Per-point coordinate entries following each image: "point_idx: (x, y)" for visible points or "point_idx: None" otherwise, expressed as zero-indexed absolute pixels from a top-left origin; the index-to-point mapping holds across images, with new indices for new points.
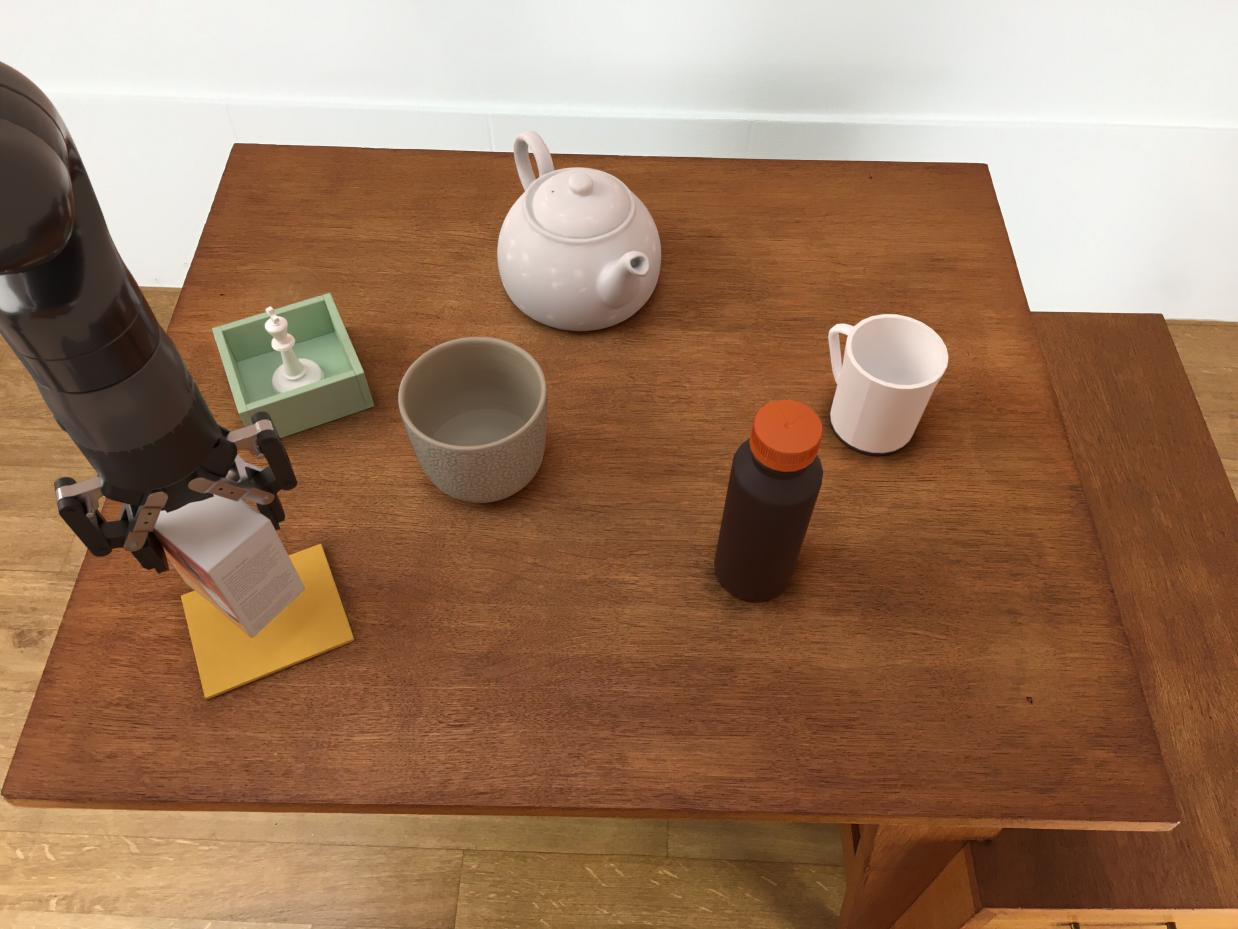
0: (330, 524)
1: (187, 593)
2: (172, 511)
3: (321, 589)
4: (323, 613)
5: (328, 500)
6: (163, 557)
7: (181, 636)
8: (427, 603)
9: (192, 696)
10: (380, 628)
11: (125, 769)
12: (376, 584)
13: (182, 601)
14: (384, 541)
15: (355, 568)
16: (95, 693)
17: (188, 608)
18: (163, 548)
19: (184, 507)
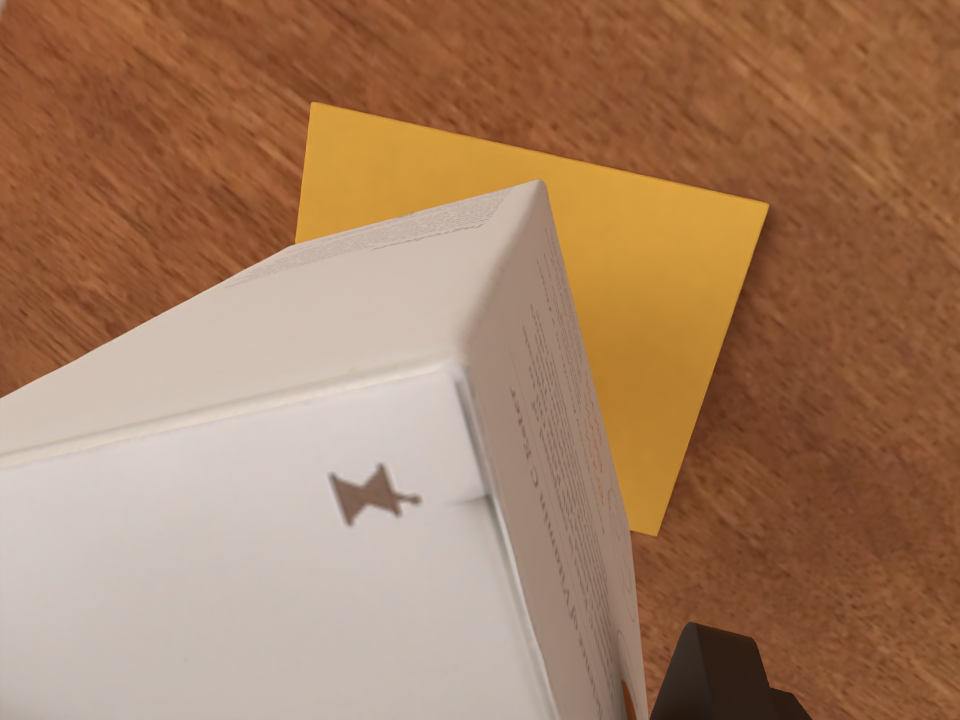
0: (842, 138)
1: (331, 108)
2: (76, 678)
3: (672, 358)
4: (633, 428)
5: (906, 30)
6: None
7: (276, 227)
8: (880, 563)
9: None
10: (730, 542)
11: None
12: (810, 428)
13: (309, 126)
14: (935, 316)
15: (796, 343)
16: (43, 243)
17: (317, 163)
18: None
19: (174, 707)
